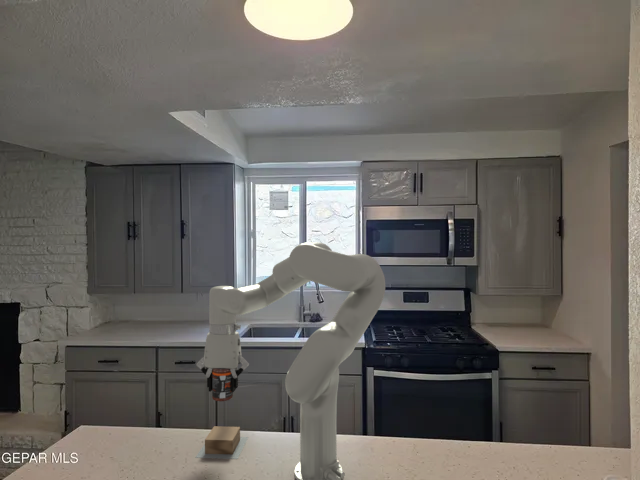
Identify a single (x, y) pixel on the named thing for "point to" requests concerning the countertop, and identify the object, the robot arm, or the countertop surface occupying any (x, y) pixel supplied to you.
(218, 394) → the supplement bottle
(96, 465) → the countertop surface
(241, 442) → the base plate
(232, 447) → the walnut block
